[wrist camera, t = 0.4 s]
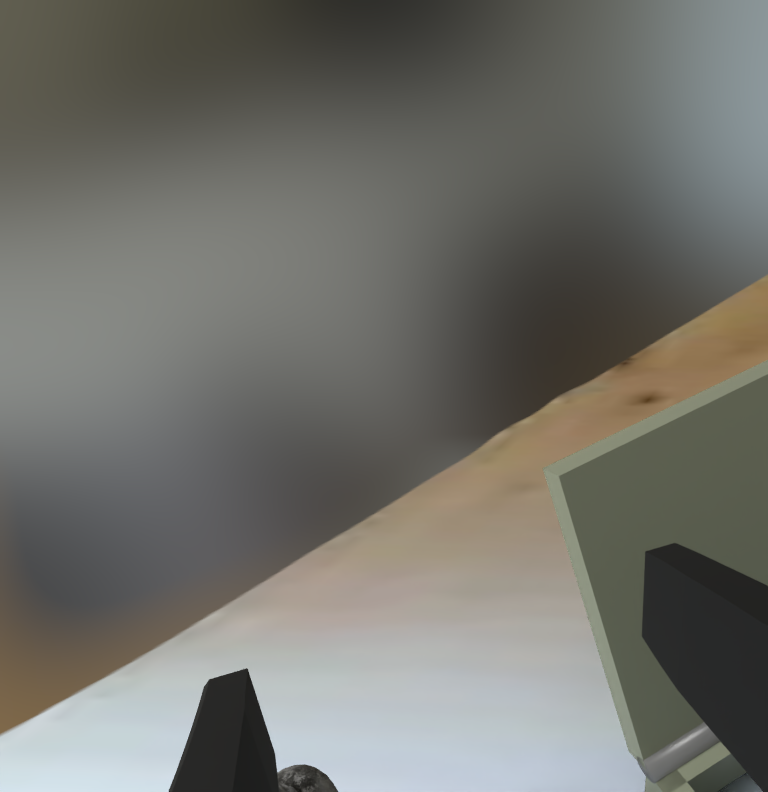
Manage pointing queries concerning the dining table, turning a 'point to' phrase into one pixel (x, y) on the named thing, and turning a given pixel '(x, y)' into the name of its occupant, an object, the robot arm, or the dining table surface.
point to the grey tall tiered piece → (304, 780)
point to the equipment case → (659, 526)
